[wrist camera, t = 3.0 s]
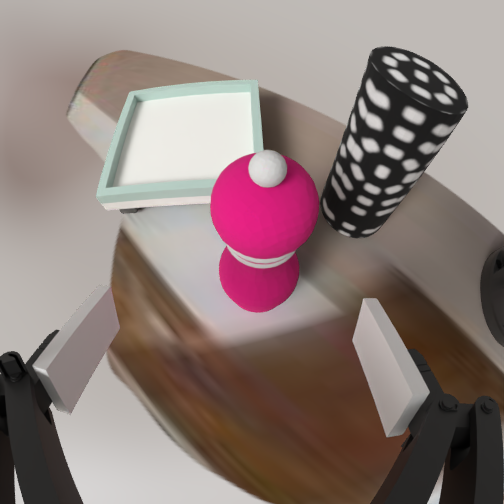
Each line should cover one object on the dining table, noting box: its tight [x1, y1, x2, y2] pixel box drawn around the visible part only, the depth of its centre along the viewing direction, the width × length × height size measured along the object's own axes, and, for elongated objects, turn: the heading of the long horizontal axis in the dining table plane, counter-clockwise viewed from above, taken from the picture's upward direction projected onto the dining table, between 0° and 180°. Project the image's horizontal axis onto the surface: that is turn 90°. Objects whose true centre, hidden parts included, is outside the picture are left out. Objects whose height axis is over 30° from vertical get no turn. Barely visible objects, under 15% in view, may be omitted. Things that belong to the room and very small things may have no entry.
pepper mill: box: [210, 150, 319, 312], centre depth 22 cm, size 7×7×20 cm
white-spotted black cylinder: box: [320, 47, 468, 238], centre depth 25 cm, size 8×8×20 cm
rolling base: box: [96, 80, 263, 214], centre depth 34 cm, size 18×18×6 cm
